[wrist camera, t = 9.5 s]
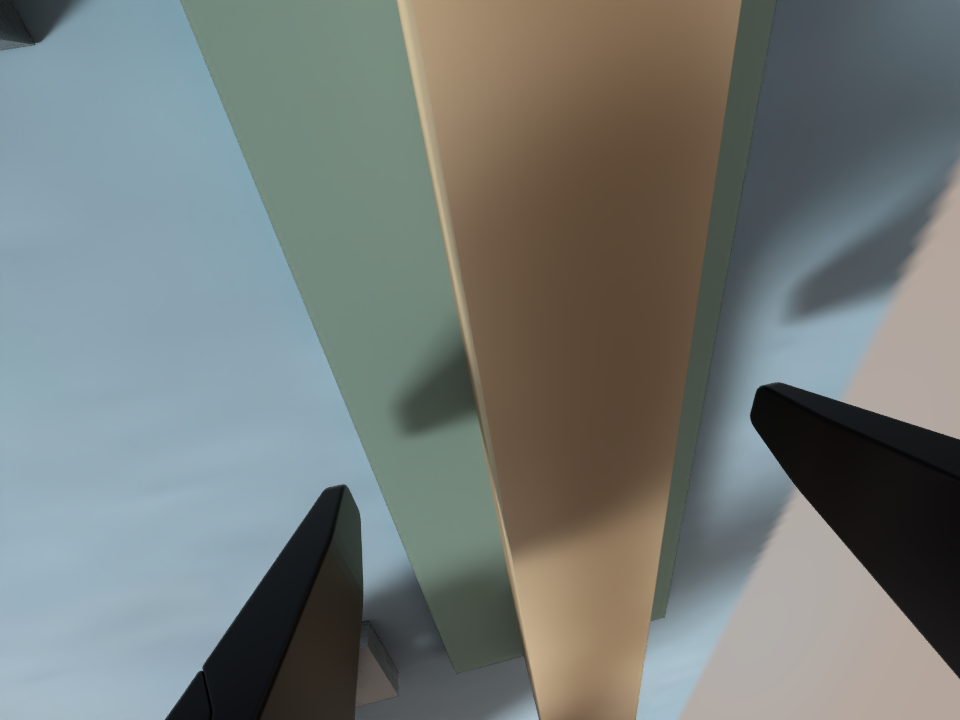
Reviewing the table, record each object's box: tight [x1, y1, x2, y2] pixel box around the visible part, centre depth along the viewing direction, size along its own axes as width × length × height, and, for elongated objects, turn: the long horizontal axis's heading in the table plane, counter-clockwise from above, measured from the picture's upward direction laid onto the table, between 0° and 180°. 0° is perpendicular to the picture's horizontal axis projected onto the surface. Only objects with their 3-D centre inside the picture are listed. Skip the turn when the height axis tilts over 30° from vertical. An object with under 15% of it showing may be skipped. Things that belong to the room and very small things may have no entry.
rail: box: [397, 0, 742, 720], centre depth 9 cm, size 3×24×3 cm, turn 8°
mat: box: [180, 0, 777, 674], centre depth 10 cm, size 8×25×1 cm, turn 9°
